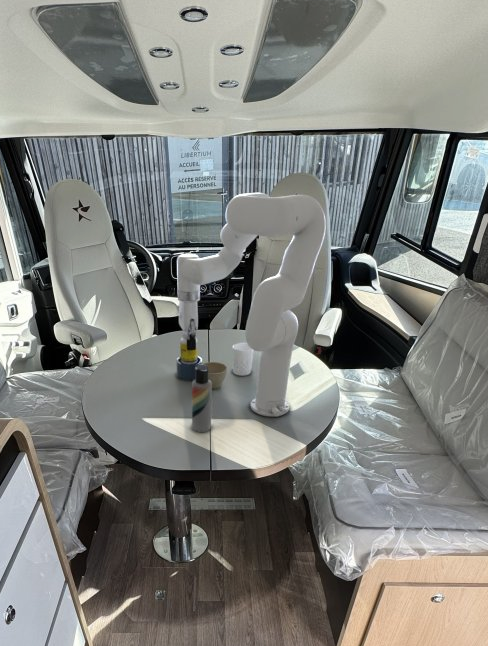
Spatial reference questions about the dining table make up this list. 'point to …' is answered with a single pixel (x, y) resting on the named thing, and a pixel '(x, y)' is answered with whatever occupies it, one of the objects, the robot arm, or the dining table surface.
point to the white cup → (242, 359)
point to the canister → (187, 369)
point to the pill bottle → (188, 351)
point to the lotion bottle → (201, 399)
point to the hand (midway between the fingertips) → (189, 345)
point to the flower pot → (216, 373)
